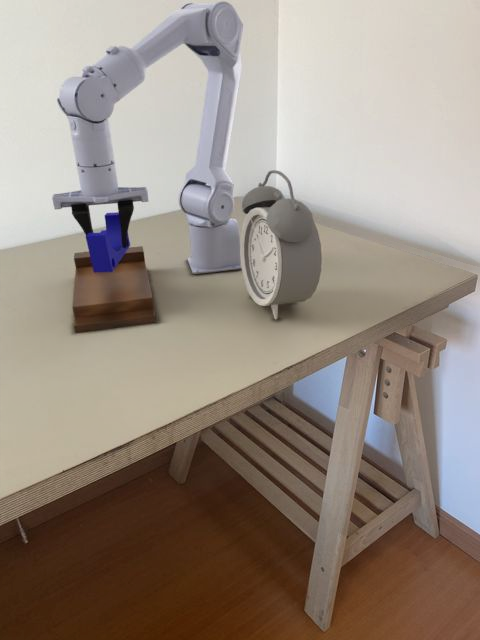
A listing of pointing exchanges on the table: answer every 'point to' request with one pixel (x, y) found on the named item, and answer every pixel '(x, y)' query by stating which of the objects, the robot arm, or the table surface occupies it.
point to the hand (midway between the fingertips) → (109, 247)
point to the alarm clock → (278, 247)
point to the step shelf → (112, 293)
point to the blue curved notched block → (107, 245)
